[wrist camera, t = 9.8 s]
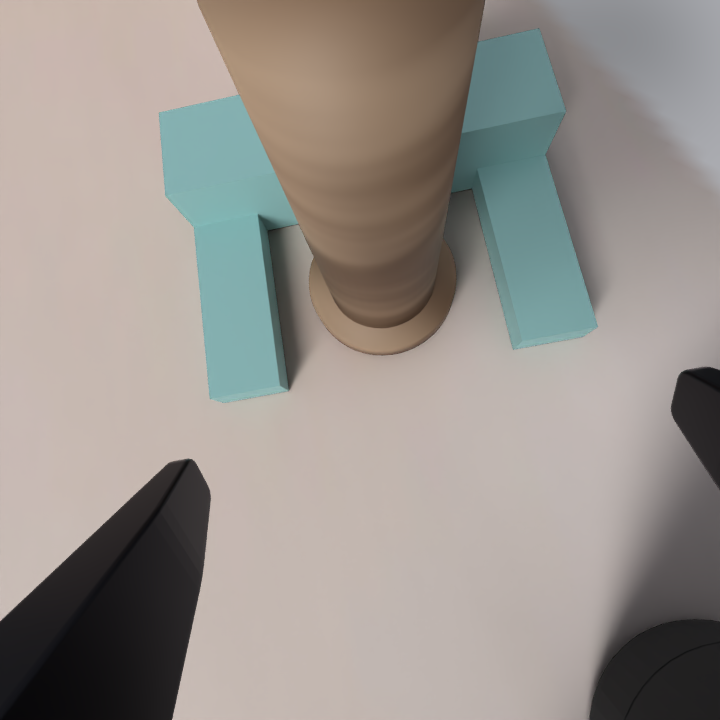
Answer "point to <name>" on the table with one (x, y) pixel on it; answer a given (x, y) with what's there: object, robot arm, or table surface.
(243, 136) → the notched board
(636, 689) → the pen holder
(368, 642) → the table surface
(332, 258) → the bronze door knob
